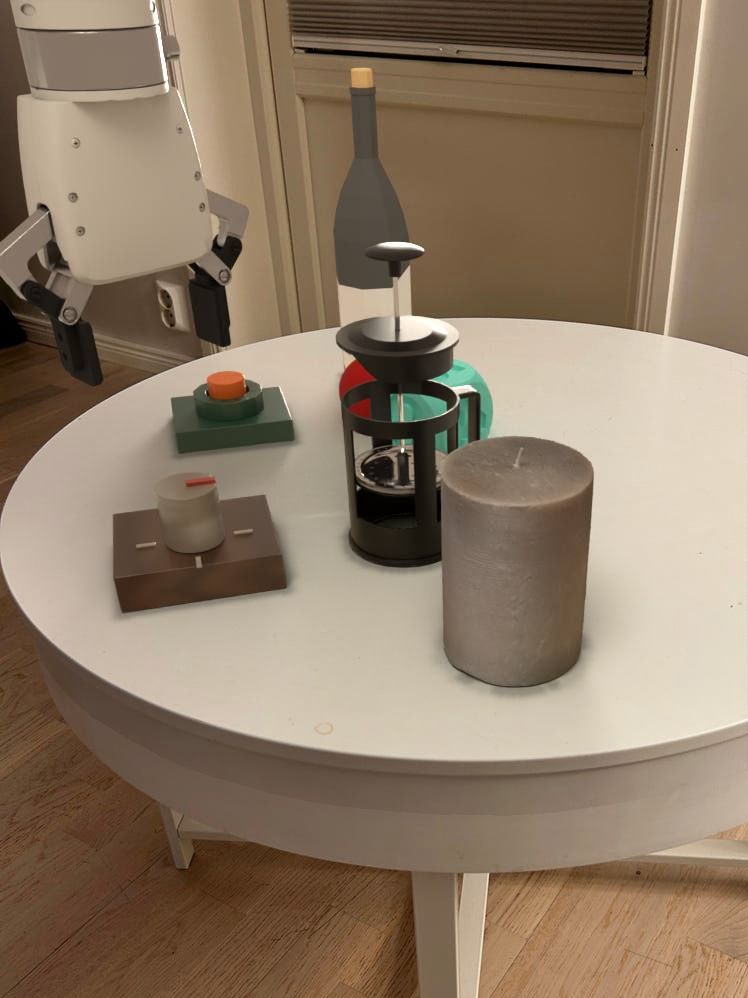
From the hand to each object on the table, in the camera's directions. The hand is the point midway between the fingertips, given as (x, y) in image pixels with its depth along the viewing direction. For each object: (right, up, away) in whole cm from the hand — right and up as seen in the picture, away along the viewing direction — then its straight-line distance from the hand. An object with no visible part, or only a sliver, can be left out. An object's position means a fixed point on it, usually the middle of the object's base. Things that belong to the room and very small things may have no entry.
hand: (153, 360), depth 66 cm
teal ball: (+18, -1, +29) cm, 34 cm away
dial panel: (0, -13, +12) cm, 18 cm away
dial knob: (0, -11, +9) cm, 14 cm away
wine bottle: (+10, +11, +45) cm, 48 cm away
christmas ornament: (+11, +3, +34) cm, 36 cm away
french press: (+16, -10, +16) cm, 25 cm away
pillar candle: (+24, -19, +4) cm, 31 cm away
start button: (-3, +5, +31) cm, 32 cm away
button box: (-3, +2, +33) cm, 33 cm away
